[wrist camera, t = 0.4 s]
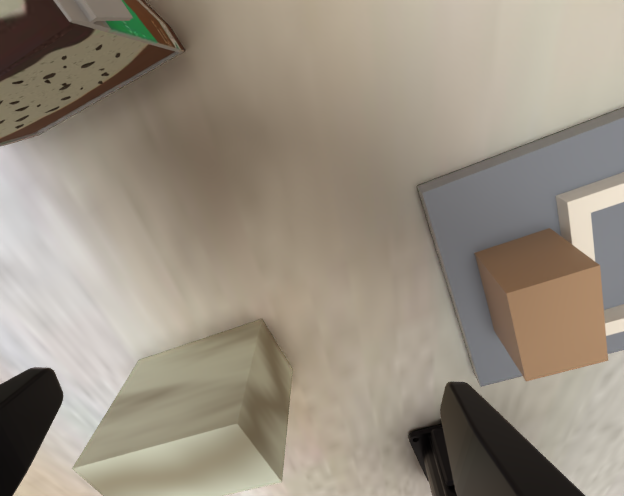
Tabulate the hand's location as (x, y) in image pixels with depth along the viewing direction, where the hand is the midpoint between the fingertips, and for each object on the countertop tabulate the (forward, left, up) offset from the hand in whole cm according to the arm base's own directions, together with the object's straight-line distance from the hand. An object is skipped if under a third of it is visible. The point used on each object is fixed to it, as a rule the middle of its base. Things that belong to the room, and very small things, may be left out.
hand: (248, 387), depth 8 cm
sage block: (-10, +11, -14) cm, 20 cm away
